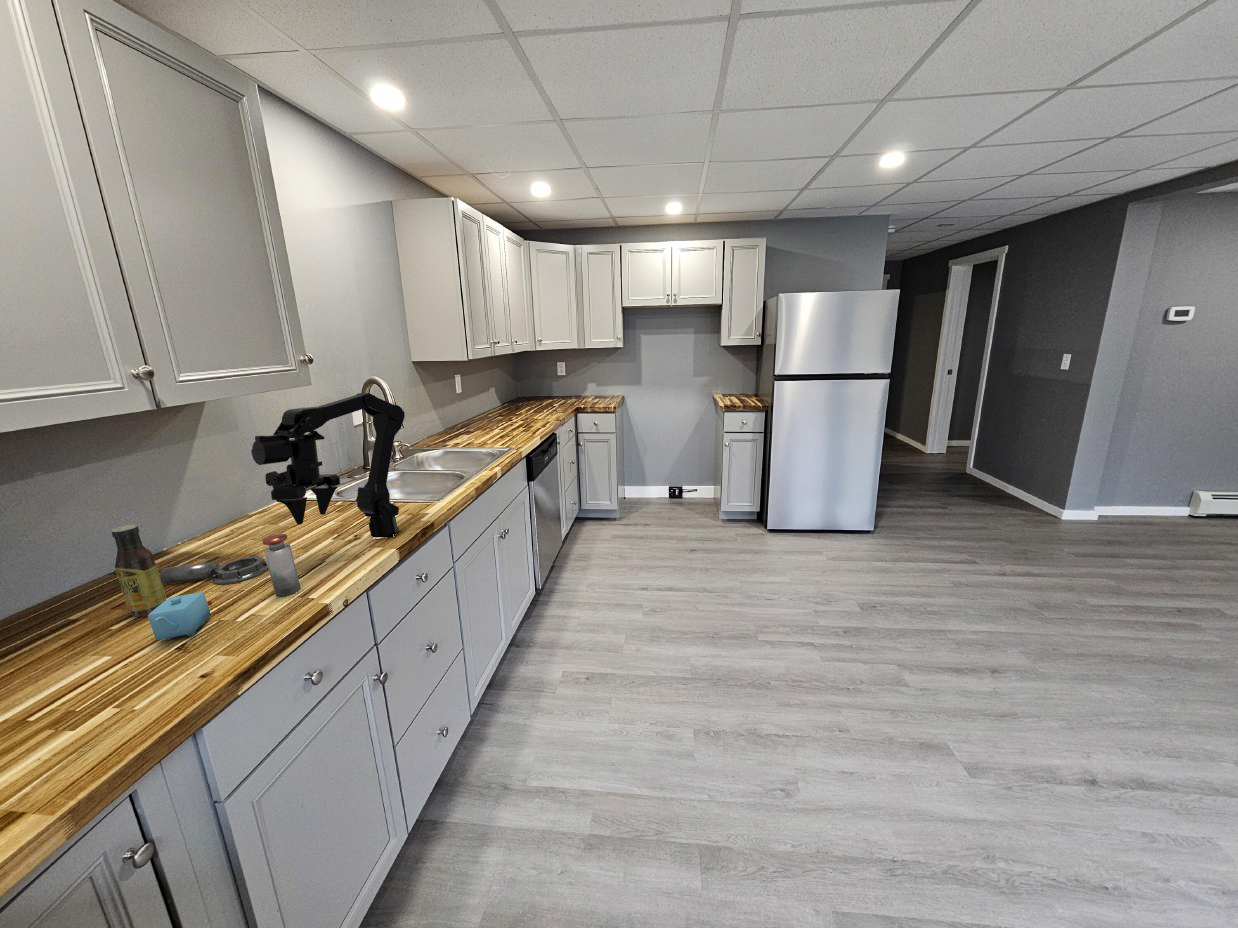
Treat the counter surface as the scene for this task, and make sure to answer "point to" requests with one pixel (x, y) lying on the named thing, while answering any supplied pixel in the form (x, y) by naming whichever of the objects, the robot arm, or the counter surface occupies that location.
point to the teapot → (179, 616)
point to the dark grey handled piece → (216, 571)
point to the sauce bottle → (137, 572)
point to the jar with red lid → (281, 565)
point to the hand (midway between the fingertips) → (311, 519)
